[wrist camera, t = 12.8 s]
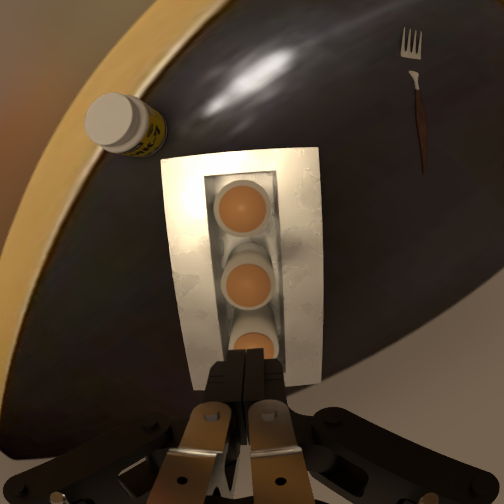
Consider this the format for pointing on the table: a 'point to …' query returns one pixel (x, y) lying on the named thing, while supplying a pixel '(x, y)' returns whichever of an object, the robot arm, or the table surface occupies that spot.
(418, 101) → the fork
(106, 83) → the table surface
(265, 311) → the knob
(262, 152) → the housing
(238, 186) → the knob
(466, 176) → the table surface
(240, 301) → the knob
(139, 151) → the supplement bottle
